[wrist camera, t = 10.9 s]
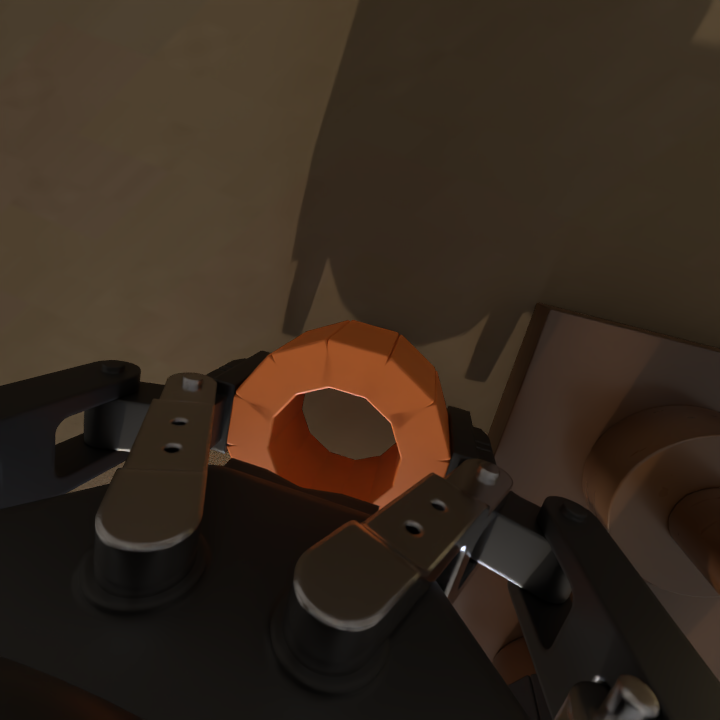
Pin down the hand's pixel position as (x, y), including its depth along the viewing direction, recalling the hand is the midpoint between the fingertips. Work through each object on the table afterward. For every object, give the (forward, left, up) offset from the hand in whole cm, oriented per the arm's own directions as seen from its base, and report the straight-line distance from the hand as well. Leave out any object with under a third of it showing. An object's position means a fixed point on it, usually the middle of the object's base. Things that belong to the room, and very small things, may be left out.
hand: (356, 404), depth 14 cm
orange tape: (0, 0, +1) cm, 1 cm away
